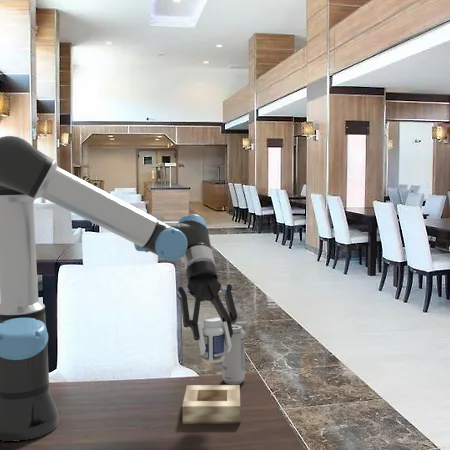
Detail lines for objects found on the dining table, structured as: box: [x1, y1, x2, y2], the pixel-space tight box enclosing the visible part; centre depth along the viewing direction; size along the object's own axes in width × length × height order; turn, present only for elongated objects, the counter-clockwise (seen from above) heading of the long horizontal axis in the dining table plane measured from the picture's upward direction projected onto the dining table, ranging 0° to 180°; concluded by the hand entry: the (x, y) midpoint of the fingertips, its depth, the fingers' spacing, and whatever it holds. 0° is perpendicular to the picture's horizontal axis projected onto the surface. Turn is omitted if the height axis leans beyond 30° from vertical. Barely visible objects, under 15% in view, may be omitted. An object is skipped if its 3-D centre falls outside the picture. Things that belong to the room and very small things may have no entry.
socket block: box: [182, 384, 241, 425], centre depth 138 cm, size 13×13×4 cm
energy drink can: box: [221, 324, 246, 385], centre depth 157 cm, size 6×6×15 cm
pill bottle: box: [200, 316, 224, 364], centre depth 136 cm, size 5×5×10 cm
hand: (216, 350), depth 133 cm, fingers closed on pill bottle, 5 cm apart
